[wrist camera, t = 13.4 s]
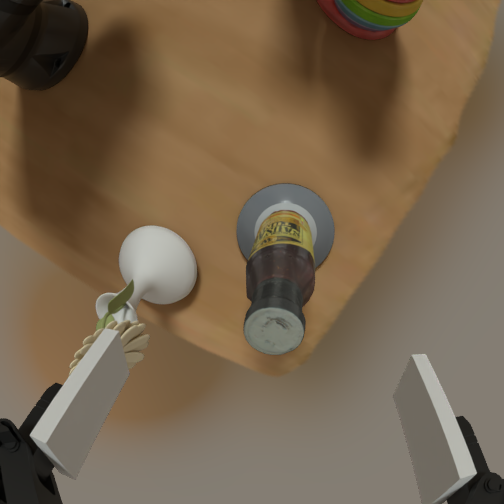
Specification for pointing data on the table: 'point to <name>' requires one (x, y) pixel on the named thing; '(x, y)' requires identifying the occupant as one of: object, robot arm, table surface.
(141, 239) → the flower in vase
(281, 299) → the sauce bottle
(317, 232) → the coaster
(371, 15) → the stacking bear
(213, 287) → the table surface
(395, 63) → the table surface
